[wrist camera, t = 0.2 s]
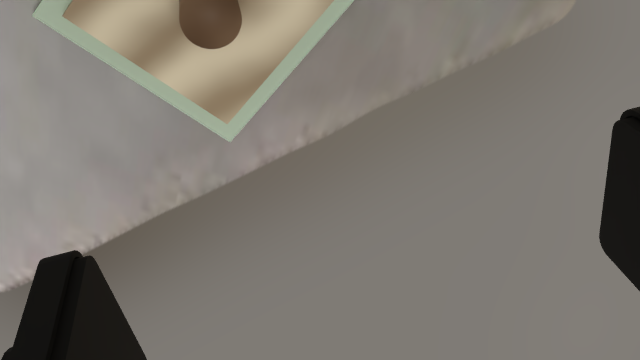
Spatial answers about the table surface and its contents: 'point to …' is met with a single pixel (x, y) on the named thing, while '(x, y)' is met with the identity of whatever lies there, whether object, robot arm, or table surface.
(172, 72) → the cover
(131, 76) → the mat
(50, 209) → the table surface
